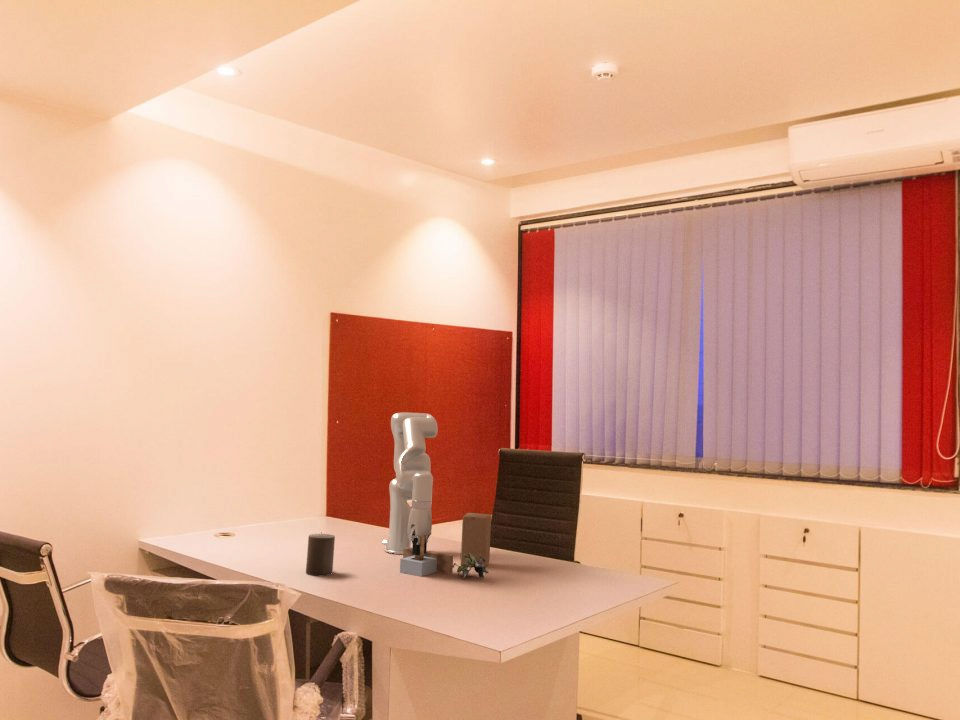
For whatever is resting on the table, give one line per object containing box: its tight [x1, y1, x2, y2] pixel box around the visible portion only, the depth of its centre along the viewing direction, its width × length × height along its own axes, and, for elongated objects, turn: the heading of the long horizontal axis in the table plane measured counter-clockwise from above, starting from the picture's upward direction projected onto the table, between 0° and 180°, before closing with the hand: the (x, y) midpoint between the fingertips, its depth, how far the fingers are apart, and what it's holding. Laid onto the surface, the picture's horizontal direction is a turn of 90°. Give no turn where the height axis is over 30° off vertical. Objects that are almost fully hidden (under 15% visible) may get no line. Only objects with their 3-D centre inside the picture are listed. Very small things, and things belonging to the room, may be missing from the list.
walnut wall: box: [402, 547, 454, 575], centre depth 297 cm, size 22×2×7 cm, turn 59°
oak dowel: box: [414, 535, 425, 561], centre depth 292 cm, size 4×4×12 cm
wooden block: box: [459, 512, 492, 568], centre depth 311 cm, size 10×10×20 cm
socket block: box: [399, 555, 438, 577], centre depth 292 cm, size 10×10×5 cm
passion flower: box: [453, 553, 489, 580], centre depth 287 cm, size 11×11×12 cm
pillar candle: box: [305, 532, 336, 576], centre depth 285 cm, size 10×10×15 cm
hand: (419, 553), depth 292 cm, fingers closed on oak dowel, 3 cm apart
